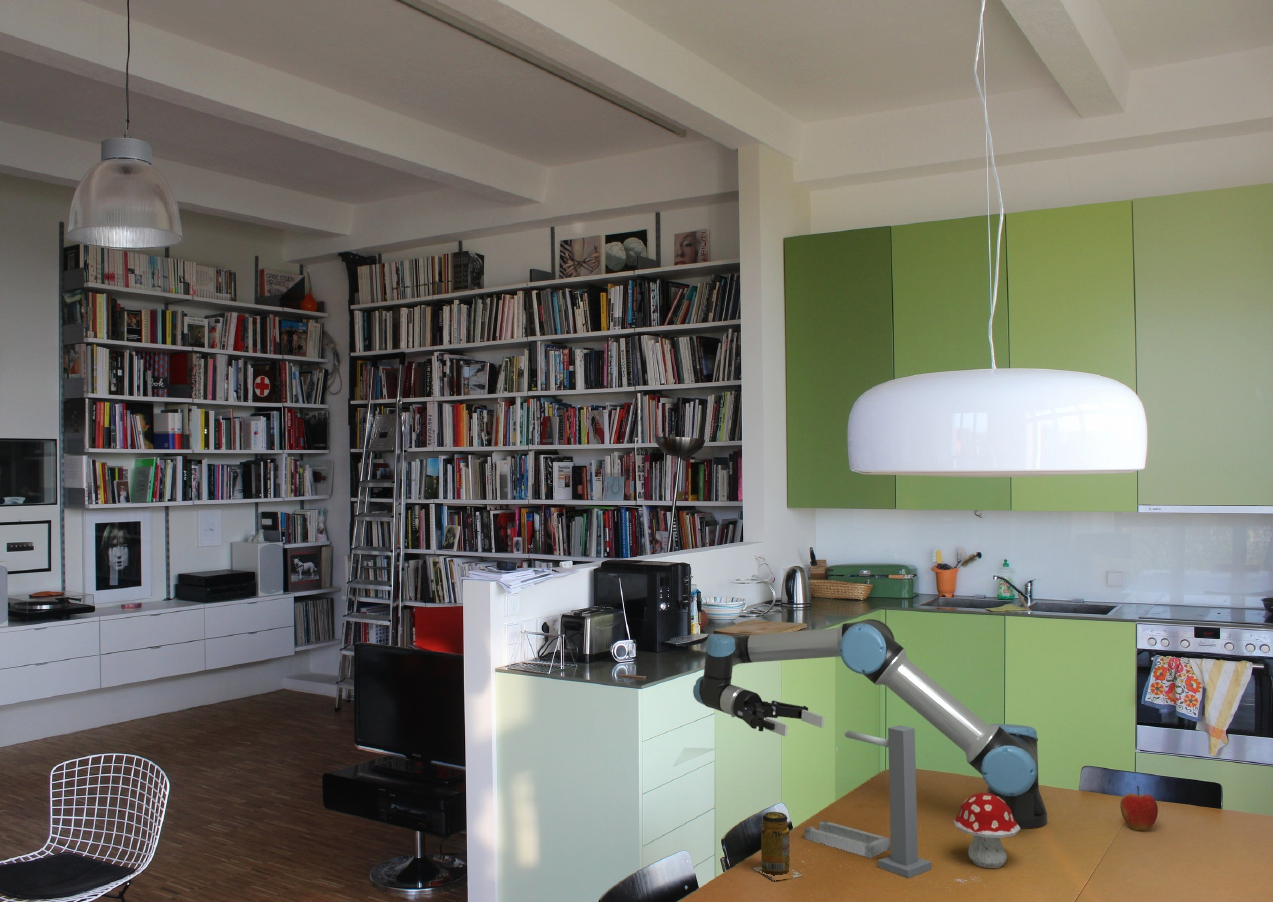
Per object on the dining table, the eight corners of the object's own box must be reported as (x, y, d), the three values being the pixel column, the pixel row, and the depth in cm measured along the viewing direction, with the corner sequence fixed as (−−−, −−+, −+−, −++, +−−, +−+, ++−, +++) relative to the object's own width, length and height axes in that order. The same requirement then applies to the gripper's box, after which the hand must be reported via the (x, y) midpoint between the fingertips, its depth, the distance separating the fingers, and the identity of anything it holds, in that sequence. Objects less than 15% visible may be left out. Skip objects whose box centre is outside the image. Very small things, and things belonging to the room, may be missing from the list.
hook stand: (931, 868, 213) (928, 728, 214) (908, 877, 208) (905, 734, 209) (859, 844, 229) (856, 713, 230) (836, 852, 224) (833, 718, 225)
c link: (824, 820, 238) (889, 838, 225) (824, 830, 238) (890, 848, 225) (804, 828, 233) (870, 847, 220) (804, 838, 233) (870, 858, 220)
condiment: (780, 863, 217) (779, 808, 218) (802, 876, 210) (801, 819, 210) (752, 869, 214) (751, 813, 215) (774, 882, 207) (773, 824, 207)
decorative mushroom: (941, 861, 217) (939, 792, 218) (978, 847, 226) (976, 780, 226) (998, 880, 206) (996, 807, 207) (1034, 864, 215) (1032, 794, 215)
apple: (1122, 832, 234) (1121, 789, 235) (1119, 822, 242) (1118, 780, 242) (1160, 836, 231) (1159, 793, 232) (1156, 825, 239) (1155, 784, 239)
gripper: (773, 711, 264) (836, 733, 248) (706, 724, 248) (769, 749, 232) (775, 683, 264) (838, 704, 248) (708, 695, 248) (771, 718, 232)
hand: (805, 726), depth 240 cm, fingers open, 13 cm apart
